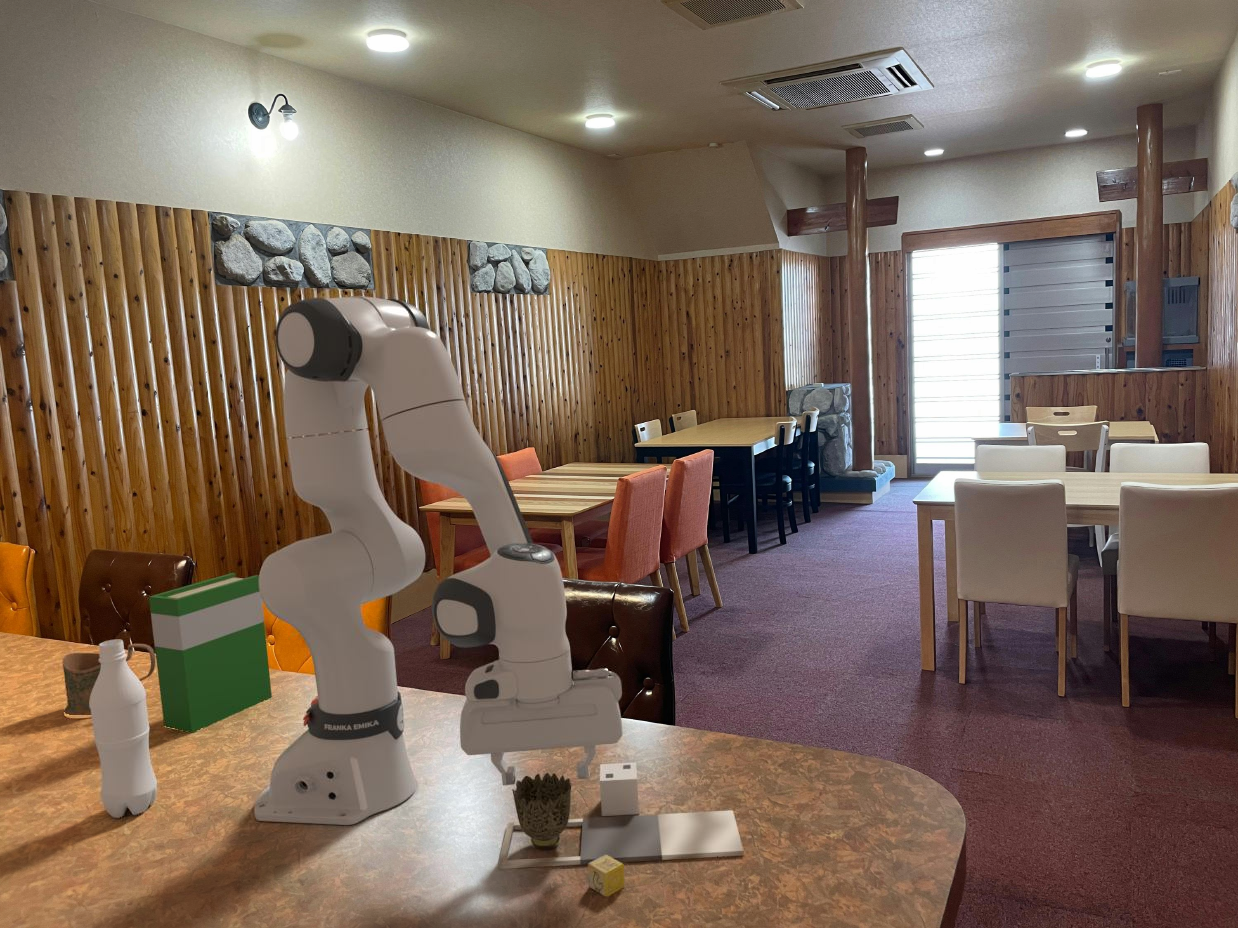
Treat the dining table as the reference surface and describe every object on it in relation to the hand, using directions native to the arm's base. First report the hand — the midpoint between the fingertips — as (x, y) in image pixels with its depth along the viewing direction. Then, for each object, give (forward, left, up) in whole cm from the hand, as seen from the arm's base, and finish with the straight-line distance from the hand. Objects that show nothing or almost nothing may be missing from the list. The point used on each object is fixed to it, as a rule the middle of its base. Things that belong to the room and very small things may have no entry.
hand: (546, 780), depth 115 cm
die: (+9, +9, -9) cm, 16 cm away
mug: (-88, +59, -9) cm, 107 cm away
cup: (-1, 0, -9) cm, 9 cm away
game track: (+9, 0, -9) cm, 13 cm away
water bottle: (-62, +16, -9) cm, 65 cm away
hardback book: (-65, +53, -9) cm, 85 cm away
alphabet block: (+7, -10, -9) cm, 15 cm away
